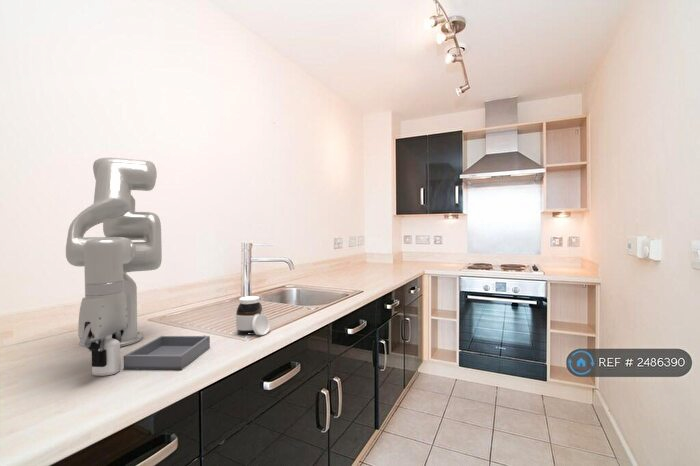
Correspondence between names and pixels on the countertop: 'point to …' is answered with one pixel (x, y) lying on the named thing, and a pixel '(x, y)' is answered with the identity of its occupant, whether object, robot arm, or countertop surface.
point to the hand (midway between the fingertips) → (106, 361)
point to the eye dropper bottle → (109, 358)
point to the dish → (167, 353)
